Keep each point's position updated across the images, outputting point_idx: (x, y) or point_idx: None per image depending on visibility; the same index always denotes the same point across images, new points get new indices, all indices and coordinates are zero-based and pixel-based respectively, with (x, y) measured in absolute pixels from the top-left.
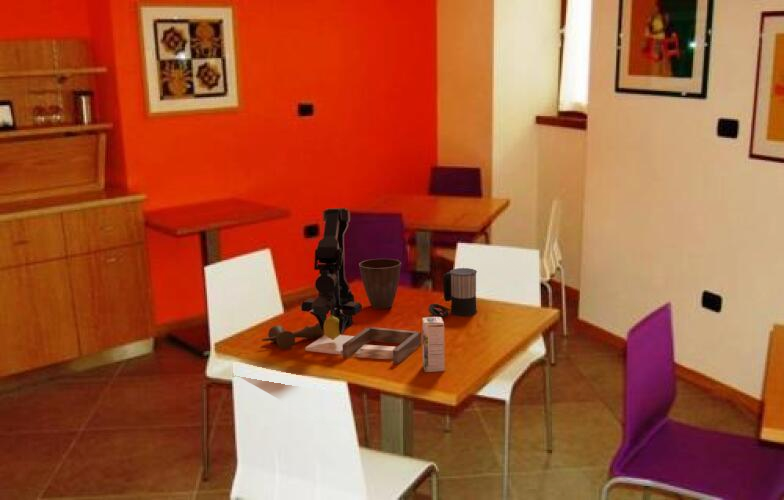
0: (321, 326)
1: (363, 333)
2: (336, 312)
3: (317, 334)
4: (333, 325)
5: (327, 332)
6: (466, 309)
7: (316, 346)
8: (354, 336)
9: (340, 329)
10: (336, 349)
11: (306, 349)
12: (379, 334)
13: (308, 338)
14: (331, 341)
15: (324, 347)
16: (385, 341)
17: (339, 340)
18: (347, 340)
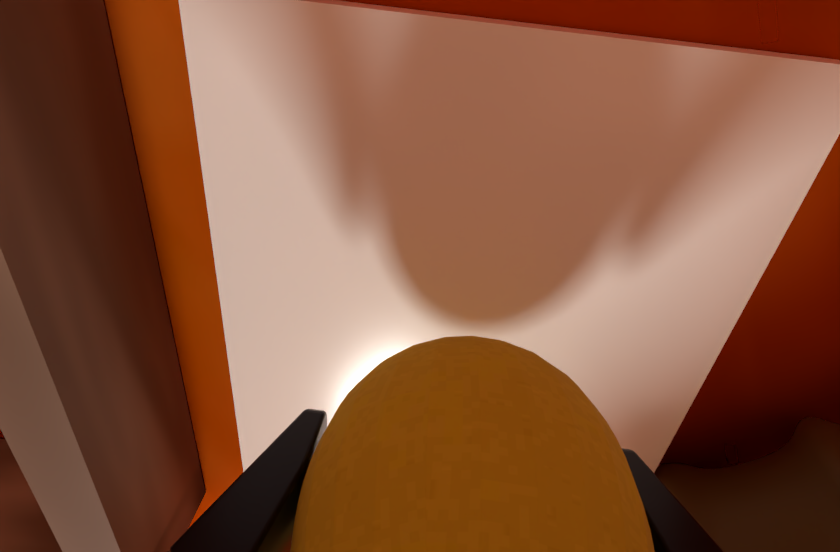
0: (701, 544)
1: (22, 461)
2: None
3: (722, 488)
4: (362, 531)
5: (516, 378)
6: None
7: (668, 153)
8: (37, 350)
9: (270, 471)
10: (289, 77)
11: (832, 60)
12: (17, 510)
13: (824, 420)
14: None
15: (520, 132)
16: (7, 446)
17: None
18: (320, 404)
